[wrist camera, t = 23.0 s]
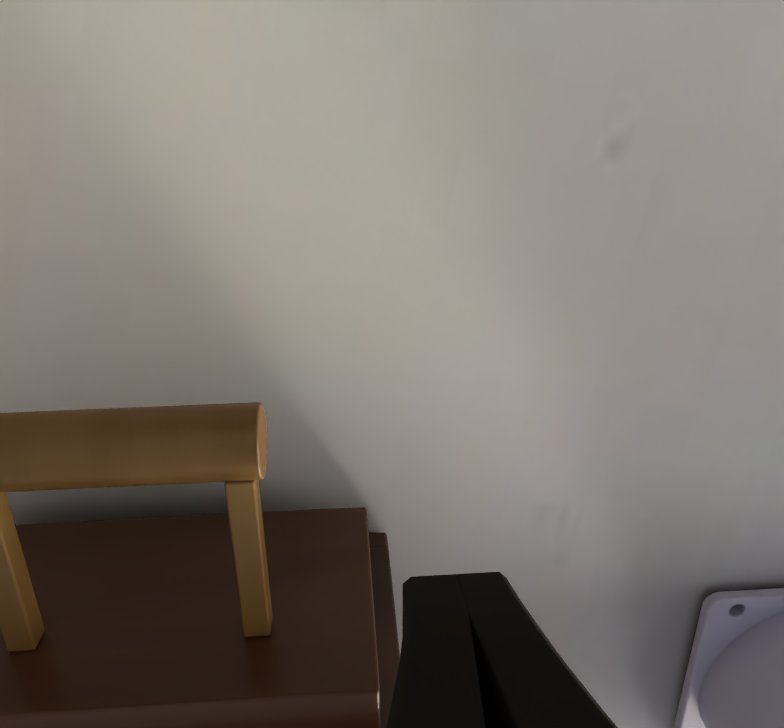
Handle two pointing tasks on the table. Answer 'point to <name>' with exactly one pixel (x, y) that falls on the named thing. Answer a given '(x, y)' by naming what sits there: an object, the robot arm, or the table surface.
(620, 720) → the table surface
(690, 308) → the table surface
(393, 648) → the cabinet
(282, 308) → the table surface
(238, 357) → the table surface
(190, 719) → the drawer
